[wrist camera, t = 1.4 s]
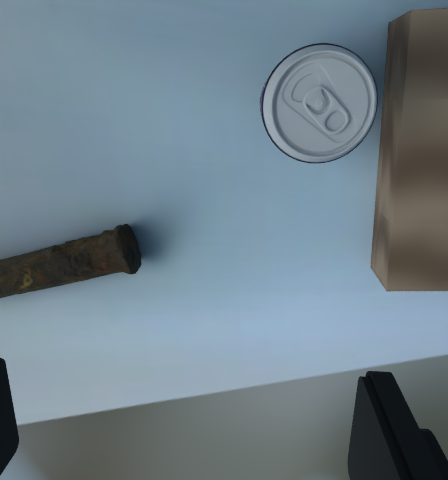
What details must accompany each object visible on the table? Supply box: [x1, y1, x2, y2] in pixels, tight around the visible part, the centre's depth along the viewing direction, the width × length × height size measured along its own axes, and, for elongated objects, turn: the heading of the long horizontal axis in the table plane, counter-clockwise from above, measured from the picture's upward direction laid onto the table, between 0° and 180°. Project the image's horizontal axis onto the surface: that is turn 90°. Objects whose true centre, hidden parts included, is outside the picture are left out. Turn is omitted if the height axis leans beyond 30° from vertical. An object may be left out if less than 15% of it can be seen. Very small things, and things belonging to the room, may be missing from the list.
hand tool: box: [0, 224, 141, 298], centre depth 35 cm, size 19×4×5 cm, turn 102°
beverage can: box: [260, 43, 378, 163], centre depth 26 cm, size 6×6×12 cm
